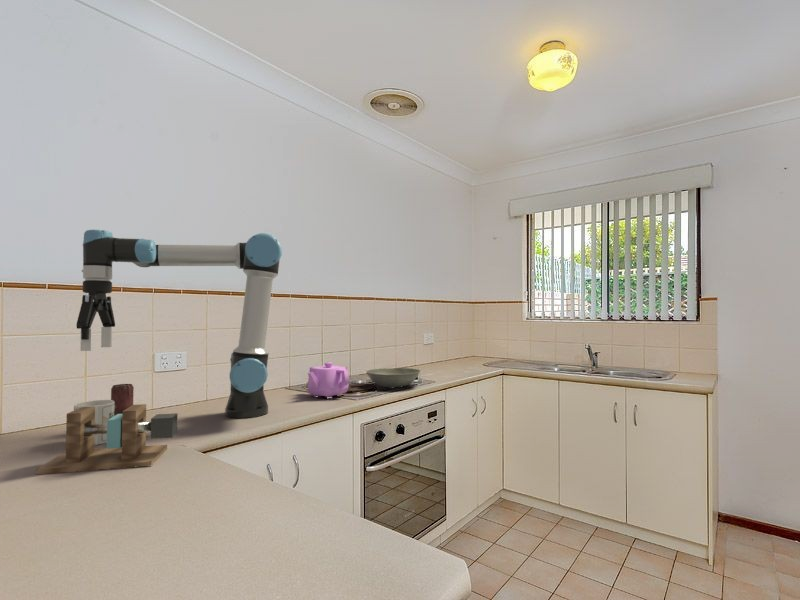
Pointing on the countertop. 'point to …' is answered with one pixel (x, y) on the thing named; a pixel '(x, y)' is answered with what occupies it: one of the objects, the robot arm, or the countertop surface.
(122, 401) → the can
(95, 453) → the block
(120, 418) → the block
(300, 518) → the countertop surface
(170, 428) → the shaft
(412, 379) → the bowl
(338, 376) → the teapot
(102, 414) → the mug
